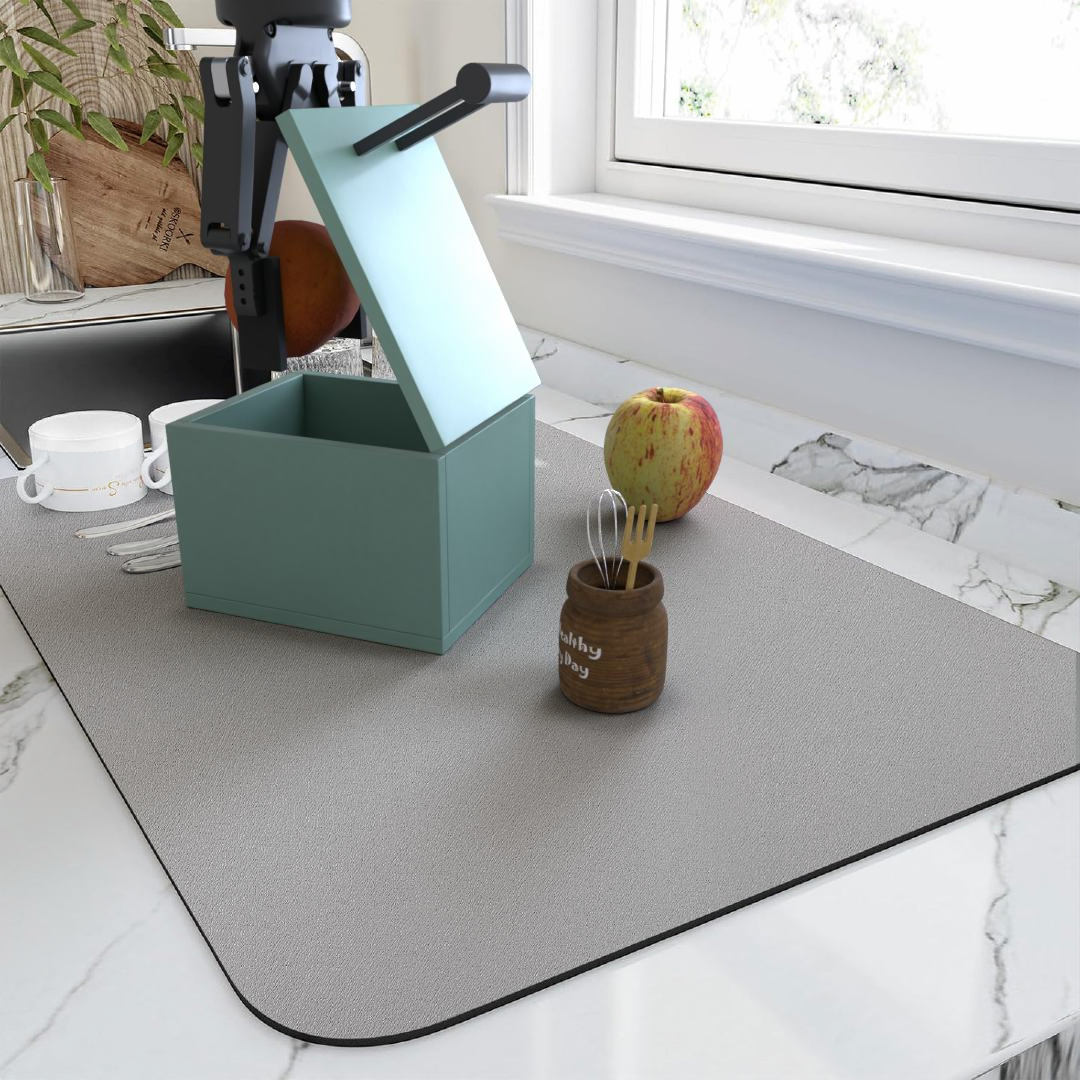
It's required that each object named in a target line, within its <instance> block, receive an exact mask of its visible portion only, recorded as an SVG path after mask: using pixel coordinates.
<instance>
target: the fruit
mask: <svg viewBox="0 0 1080 1080" xmlns="http://www.w3.org/2000/svg"><path fill="white" fill-rule="evenodd" d="M252 233H253V230H251V234H252ZM268 256H272V257H279V258H280V271H281V284H282V298H283V311H284V324H285V337H286V351H287V359H291V358H292V359H294V358H302V357H305V356H309V355H311V354H313V353H314V352H316V351H318V349H320V348H322V347H324V345H326V344H327V343H328V342H329V341H331V340H332V339H334V338H336V337H335V336H336V335H337V334H338V333H339V332H341V331H342V330H343V329H344V328H345V327H346V326H348V324H349V323H350V322H351V321H352V319H353V317H354V316H355V314H356V312H357V310H358V308H359V306H360V303H361V302H360V300H359V297H358V295H357V293H356V291H355V289H354V287H353V284H352V282H351V280H350V278H349V276H348V274H347V272H346V269H345V267H344V265H343V263H342V261H341V259H340V257H339V254H338V252H337V250H336V248H335V246H334V244H333V241H332V239H331V237H330V235H329V233H328V231H327V229H326V226H325V224H320V223H317V222H314V221H308V220H304V219H284V220H275V222H274V228H273V233H272V238H271V244H270V249H269V253H268ZM225 271H226V273H225V278H224V292H223V293H224V294H223V296H224V305H225V310H226V313H227V315H228V317H229V320H230V322H231V324H232V326H233V327H234V329H235V330H236V332H237V333H238V324H237V314H236V312H235V309H234V304H233V297H234V296H233V293H232V290H233V288H232V282H231V271H230V262H229V263H228V264H227V269H226V270H225Z"/></svg>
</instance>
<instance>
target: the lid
mask: <svg viewBox="0 0 1080 1080" xmlns="http://www.w3.org/2000/svg"><path fill="white" fill-rule="evenodd" d="M532 86H533V81H532V76H531V74H530V71H529V70H528V69H527V67H525V66H524V65H522V64H519V63H502V62H501V63H500V62H469V63H466V64H464V65H463V66H462V67H461V68H460V69H459V70H458V73H457V74H456V78H455V85H454V86H453V87H451V88H449V89H448V90H446V91H444V92H442V93H441V94H438V95H437V96H435V97H434V98H431V99H430V100H428V101H427V102H425V103H423V104H421V105H420V104H419V103H405V104H404V103H403V104H382V105H381V104H379V105H365V106H354V107H331V108H308V109H288V110H287V111H285V112H283V113H282V114H280V115H278V116H277V117H276V118H275V119H276V121H277V123H278V125H279V128H280V130H281V132H282V134H283V136H284V138H285V140H286V143H287V145H288V150H289V151H290V153H291V155H292V158H293V160H294V162H295V164H296V166H297V169H298V170H299V173H300V175H301V177H302V179H303V181H304V183H305V186H306V187H307V188H306V189H307V190H308V192H309V194H310V196H311V198H312V201H313V202H314V205H315V207H316V209H317V211H318V213H319V216H320V218H321V220H322V222H323V225H324V226H326V229H327V231H328V233H329V235H330V237H331V239H332V241H333V244H334V246H335V248H336V250H337V252H338V254H339V257H340V259H341V261H342V263H343V265H344V267H345V269H346V272H347V274H348V276H349V278H350V280H351V282H352V284H353V287H354V289H355V291H356V293H357V295H358V297H359V300H360V302H361V304H362V306H363V308H364V310H365V312H366V318H367V319H368V321H369V323H370V325H371V327H372V329H373V332H374V334H375V336H376V338H377V340H378V342H379V345H380V347H381V349H382V351H383V353H384V356H385V358H386V360H387V362H388V364H389V367H390V369H391V370H392V373H393V375H394V377H395V380H397V381H398V383H399V386H400V388H401V390H402V392H403V394H404V396H405V398H406V401H407V403H408V405H409V407H410V409H411V411H412V413H413V416H414V418H415V420H416V422H417V424H418V426H419V429H420V431H421V433H422V435H423V437H424V439H425V441H426V444H427V446H428V448H429V450H430V452H434V451H437V450H439V449H442V448H444V447H446V446H447V445H449V444H451V443H452V442H454V441H455V440H457V439H458V438H460V437H461V436H463V435H464V434H466V433H467V432H469V431H470V430H472V429H473V428H475V427H477V426H478V425H480V424H481V423H483V422H484V421H486V420H487V419H489V418H490V417H492V416H493V415H495V414H496V413H498V412H499V411H501V410H503V409H504V408H506V407H507V406H509V405H510V404H512V403H513V402H515V401H516V400H518V399H519V398H521V397H522V396H524V395H525V394H530V392H532V391H533V390H535V389H536V388H538V387H540V386H541V385H542V380H541V378H540V376H539V374H538V372H537V370H536V366H535V365H534V363H533V360H532V358H531V356H530V353H529V351H528V349H527V347H526V345H525V342H524V339H523V338H522V335H521V333H520V330H519V328H518V326H517V324H516V322H515V319H514V317H513V314H512V313H511V310H510V308H509V305H508V303H507V301H506V299H505V297H504V294H503V292H502V289H501V288H500V285H499V283H498V281H497V278H496V276H495V274H494V271H493V269H492V267H491V264H490V263H489V260H488V258H487V256H486V253H485V251H484V249H483V246H482V244H481V242H480V239H479V238H478V235H477V233H476V230H475V228H474V226H473V224H472V221H471V219H470V217H469V213H468V212H467V210H466V207H465V205H464V203H463V201H462V199H461V197H460V195H459V191H458V189H457V187H456V185H455V183H454V180H453V178H452V176H451V174H450V172H449V169H448V167H447V165H446V162H445V160H444V158H443V155H442V154H441V153H442V152H441V151H440V148H439V147H438V144H437V141H436V139H435V137H434V136H435V135H436V134H438V133H440V132H443V131H444V130H445V129H447V128H449V127H451V126H453V125H455V124H456V123H458V122H460V121H462V120H464V119H466V118H468V117H469V116H472V114H474V113H476V112H478V111H480V110H482V109H483V108H485V107H487V106H489V105H491V104H500V103H501V104H505V103H519V102H522V101H523V100H526V98H527V97H528V96H529V95H530V93H531V90H532ZM428 120H429V121H428Z"/></svg>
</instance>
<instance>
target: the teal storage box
mask: <svg viewBox="0 0 1080 1080" xmlns="http://www.w3.org/2000/svg"><path fill="white" fill-rule="evenodd" d="M164 427H165V437H166V443H167V454H168V462H169V471H170V479H171V489H172V496H173V497H172V498H173V505H174V514H175V522H176V530H177V541H178V547H179V558H180V565H181V574H182V582H183V591H184V601H185V607H188V608H192V609H193V608H194V609H199V610H203V611H204V610H206V611H210V612H213V613H214V612H215V613H221V614H225V615H231V616H236V617H241V618H247V619H252V620H257V621H261V622H268V623H273V624H278V625H283V626H288V627H294V628H299V629H304V630H305V629H306V630H309V631H315V632H320V633H326V634H331V635H337V636H341V637H347V638H351V639H357V640H362V641H368V642H373V643H379V644H383V645H390V646H394V647H400V648H405V649H410V650H415V651H420V652H426V653H432V654H436V655H444V654H445V653H446V652H447V651H449V649H450V648H451V647H452V646H453V645H454V644H455V643H456V642H457V641H458V640H459V639H461V637H462V636H463V635H464V634H465V633H466V632H468V630H469V629H470V628H471V627H472V625H474V624H475V623H476V622H477V620H479V618H481V616H483V615H484V613H486V611H487V610H489V608H491V606H492V605H493V604H494V603H495V602H496V601H497V600H498V599H499V598H500V597H501V596H502V595H503V594H504V593H505V592H506V591H507V590H508V589H509V588H510V587H511V586H512V585H513V584H514V583H515V582H516V581H517V580H518V579H519V578H520V577H521V576H522V575H523V574H524V573H525V572H526V571H527V569H529V568H530V566H532V565H533V564H534V562H535V500H536V499H535V493H536V489H535V487H536V486H535V484H536V482H535V481H536V480H535V478H536V394H532V393H527V394H525V395H524V396H522V397H521V398H519V399H518V400H516V401H515V402H513V403H512V404H510V405H509V406H507V407H506V408H504V409H503V410H501V411H499V412H498V413H496V414H495V415H493V416H492V417H490V418H489V419H487V420H486V421H484V422H483V423H481V424H480V425H478V426H477V427H475V428H473V429H472V430H470V431H469V432H467V433H466V434H464V435H463V436H461V437H460V438H458V439H457V440H455V441H454V442H452V443H451V444H449V445H447V446H446V447H444V448H442V449H439V450H437V451H434V452H430V450H429V448H428V446H427V444H426V441H425V439H424V437H423V435H422V433H421V431H420V429H419V426H418V424H417V422H416V420H415V418H414V416H413V413H412V411H411V409H410V407H409V405H408V403H407V401H406V398H405V396H404V394H403V392H402V390H401V388H400V386H399V383H398V381H397V379H390V378H381V377H372V376H363V375H352V374H344V373H334V372H324V371H316V370H315V371H314V370H306V369H297V370H295V371H292V372H290V373H287V374H285V375H283V376H280V377H278V378H275V379H272V380H270V381H268V382H266V383H263V384H260V385H258V386H256V387H253V388H251V389H248V390H246V391H244V392H242V393H239V394H236V395H234V396H232V397H231V396H230V397H228V398H227V399H225V400H221V401H218V402H217V403H214V404H212V405H209V406H207V407H205V408H203V409H199V410H198V411H195V412H192V413H189V414H188V415H185V416H183V417H180V418H177V419H176V420H173V421H171V422H168V423H166V424H164Z"/></svg>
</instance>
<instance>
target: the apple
mask: <svg viewBox="0 0 1080 1080" xmlns="http://www.w3.org/2000/svg"><path fill="white" fill-rule="evenodd" d="M722 433H723V432H722V427H721V423H720V419H719V417H718V415H717V413H716V411H715V409H714V407H713V406H712V404H711V403H710V402H709V401H708V400H707V399H706V398H704V397H703V396H702V395H699V394H698V393H695V392H693V391H689V390H686V389H682V388H676V387H675V388H674V387H659V386H657V387H650V388H647V389H645V390H642V391H639V392H637V393H635V394H633V395H631V396H630V397H628V398H627V399H625V400H623V401H622V402H621V404H620V405H619V406H618V407H617V408H616V410H615V412H614V413H613V415H612V416H611V418H610V420H609V422H608V425H607V426H606V431H605V433H604V441H603V460H604V461H603V462H604V467H605V470H606V471H605V472H606V474H607V477H608V480H609V483H610V486H611V488H612V490H614V492H615V491H617V492H618V493H620V494H621V495H622V497H623V498H624V500H625V502H626V506H627V510H628V509H629V507H630V506H633V507H634V508H635V512H634V516H637V517H638V516H639V511H640V507H641V506H642V505H645V506H646V513H645V520H646V521H649V517H650V512H651V507H652V505H653V504H657V505H658V508H657V514H656V521H655V523H665V522H669V521H672V520H676V519H678V518H681V517H683V516H684V515H686V514H687V513H688V512H690V511H691V510H692V509H694V507H696V506H697V504H699V502H701V500H702V499H703V497H704V496H705V494H706V493H707V491H708V490H709V489H710V487H711V486H712V483H713V482H714V480H715V478H716V475H717V473H718V471H719V469H720V465H721V463H722V462H721V461H722V459H723V450H724V438H723V434H722ZM614 492H613V493H614ZM617 492H616V493H617ZM616 493H614V495H615V496H616V498H617V500H618V501H619V502H620V504H621V505H623V507H625V505H624V502H623V501H624V500H622V499H623V498H622V499H621V498H620V496H621V495H620V494H619V495H620V496H619V495H617V494H616Z"/></svg>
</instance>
